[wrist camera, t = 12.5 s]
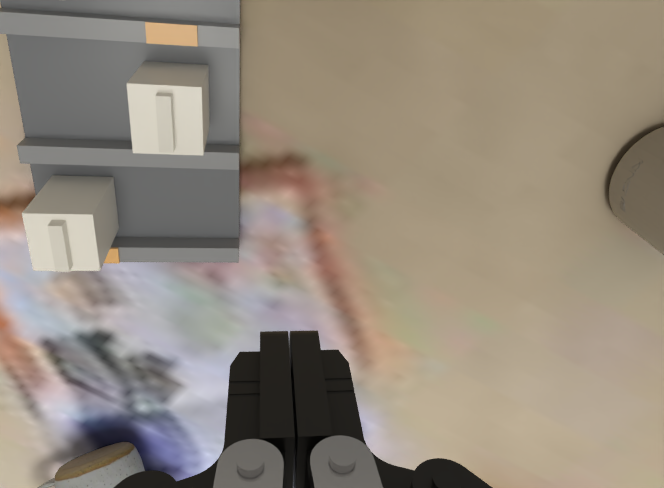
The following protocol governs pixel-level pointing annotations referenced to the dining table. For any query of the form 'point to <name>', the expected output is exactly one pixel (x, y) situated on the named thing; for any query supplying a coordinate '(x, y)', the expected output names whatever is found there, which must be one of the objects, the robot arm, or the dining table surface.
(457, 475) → the robot arm
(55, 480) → the ceramic mug
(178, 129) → the off-white rectangular block
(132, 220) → the switch bank
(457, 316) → the dining table surface
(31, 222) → the white rectangular block
